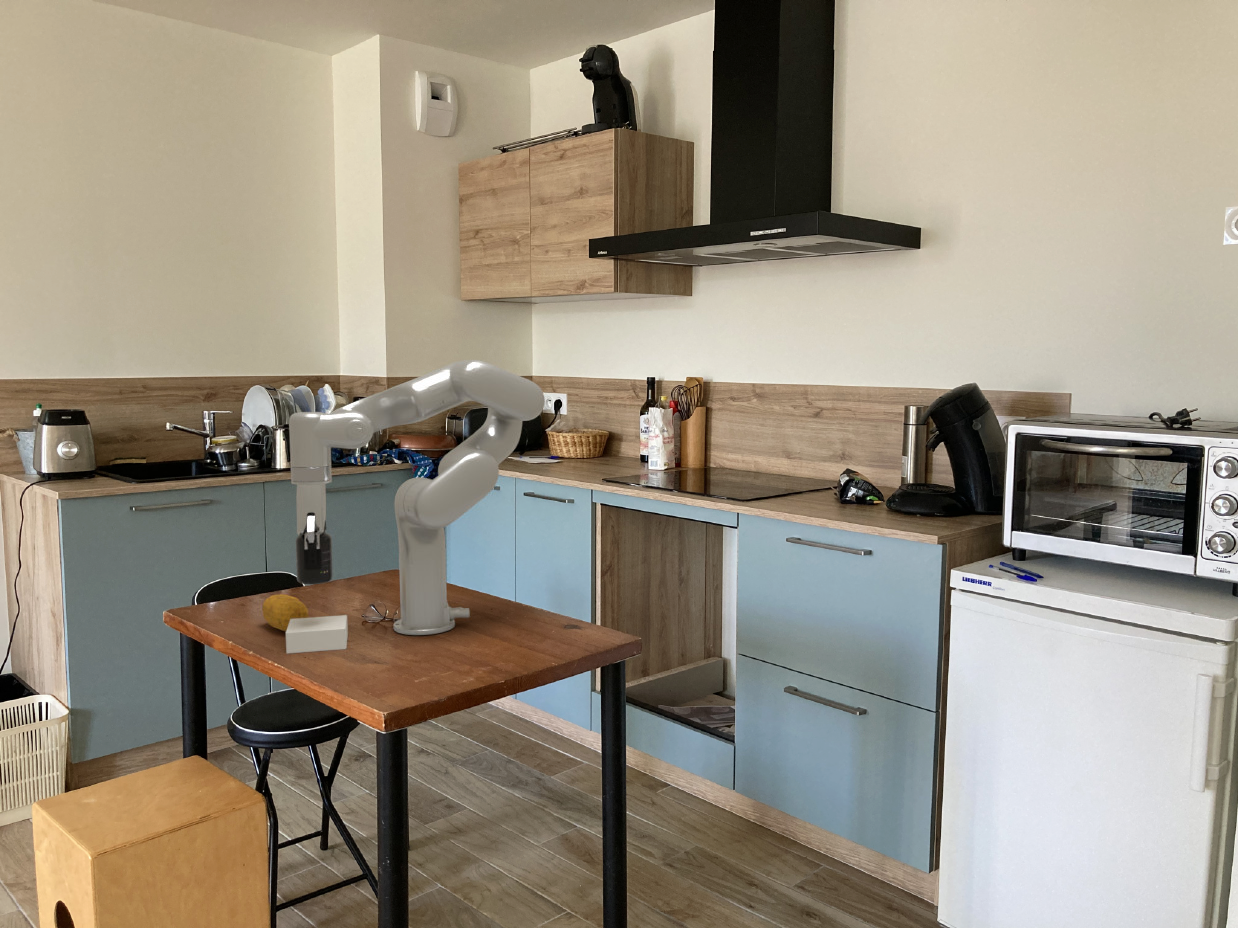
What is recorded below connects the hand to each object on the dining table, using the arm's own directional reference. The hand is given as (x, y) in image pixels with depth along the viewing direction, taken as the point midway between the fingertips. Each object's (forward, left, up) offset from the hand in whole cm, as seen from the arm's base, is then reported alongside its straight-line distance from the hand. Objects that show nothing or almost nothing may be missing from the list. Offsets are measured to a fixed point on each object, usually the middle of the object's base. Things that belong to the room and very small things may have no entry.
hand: (314, 564), depth 188 cm
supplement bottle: (0, 0, -3) cm, 3 cm away
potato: (+7, -13, -16) cm, 22 cm away
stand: (0, 0, -16) cm, 16 cm away
